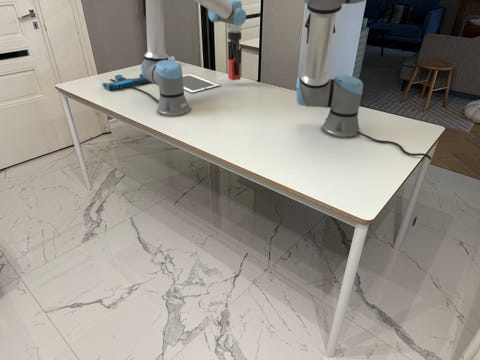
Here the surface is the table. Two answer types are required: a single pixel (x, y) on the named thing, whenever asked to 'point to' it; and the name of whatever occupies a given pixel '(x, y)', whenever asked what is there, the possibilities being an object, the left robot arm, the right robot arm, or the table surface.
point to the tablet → (196, 83)
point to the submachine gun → (124, 82)
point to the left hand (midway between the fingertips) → (234, 73)
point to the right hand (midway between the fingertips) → (317, 45)
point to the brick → (231, 70)
